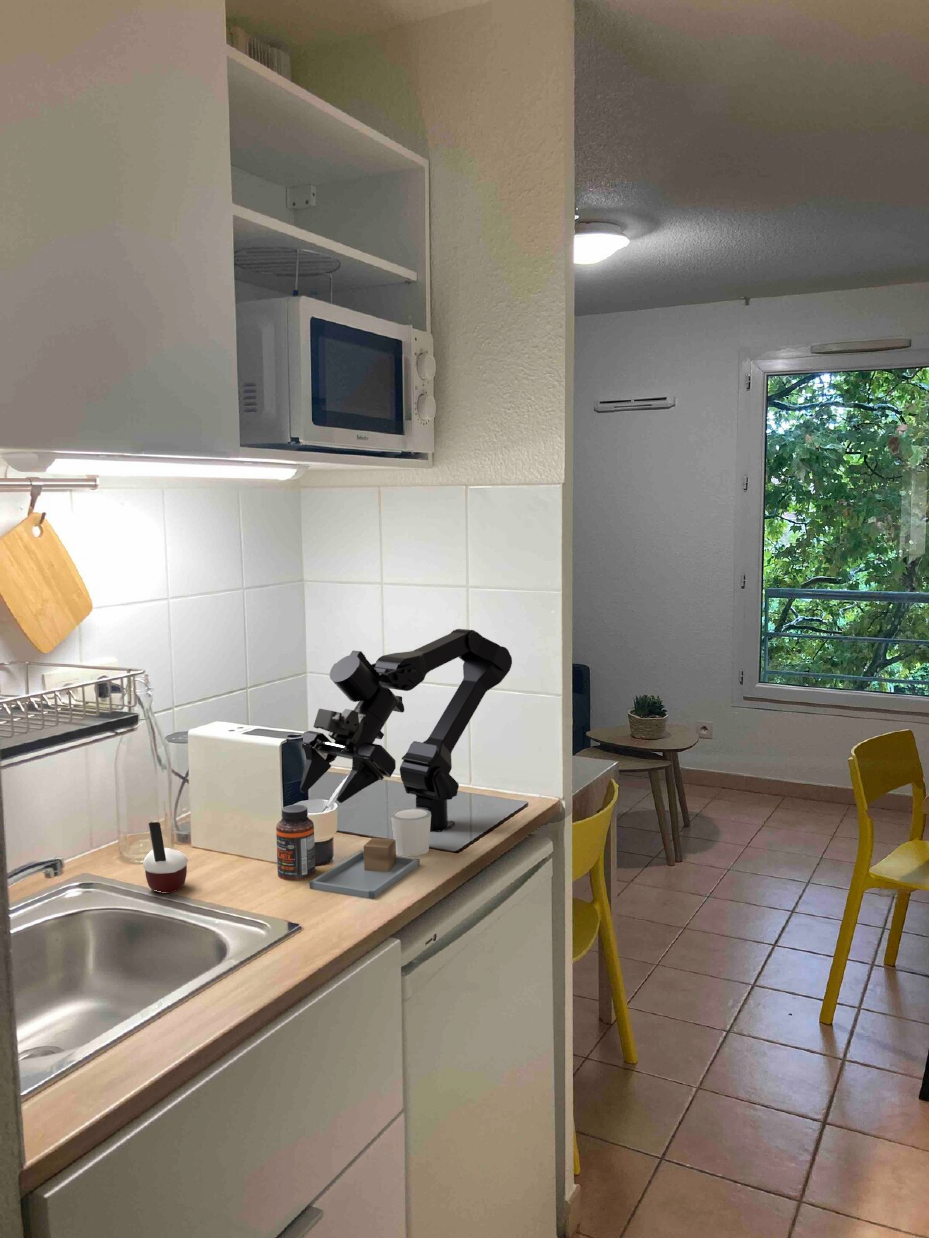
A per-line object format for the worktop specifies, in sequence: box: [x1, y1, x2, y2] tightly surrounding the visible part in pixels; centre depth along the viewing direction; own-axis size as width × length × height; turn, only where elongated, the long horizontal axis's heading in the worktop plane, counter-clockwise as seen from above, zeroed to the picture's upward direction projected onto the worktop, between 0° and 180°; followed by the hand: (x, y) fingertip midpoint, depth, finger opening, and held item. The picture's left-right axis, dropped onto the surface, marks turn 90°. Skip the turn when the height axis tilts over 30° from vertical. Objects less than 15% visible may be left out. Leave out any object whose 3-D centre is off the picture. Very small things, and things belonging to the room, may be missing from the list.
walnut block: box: [363, 837, 397, 872], centre depth 160 cm, size 4×4×4 cm
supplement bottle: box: [275, 804, 316, 881], centre depth 157 cm, size 6×6×11 cm
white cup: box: [390, 807, 431, 857], centre depth 167 cm, size 7×7×7 cm
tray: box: [308, 850, 421, 900], centre depth 156 cm, size 15×11×2 cm
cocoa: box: [142, 821, 189, 893], centre depth 153 cm, size 10×6×12 cm, turn 159°
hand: (319, 796), depth 160 cm, fingers open, 9 cm apart
